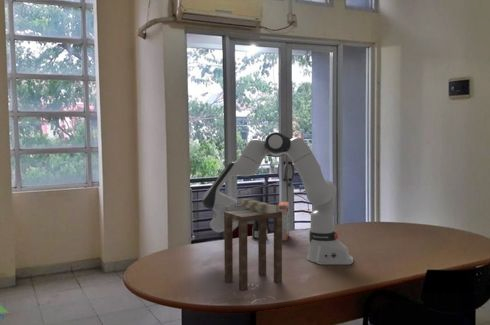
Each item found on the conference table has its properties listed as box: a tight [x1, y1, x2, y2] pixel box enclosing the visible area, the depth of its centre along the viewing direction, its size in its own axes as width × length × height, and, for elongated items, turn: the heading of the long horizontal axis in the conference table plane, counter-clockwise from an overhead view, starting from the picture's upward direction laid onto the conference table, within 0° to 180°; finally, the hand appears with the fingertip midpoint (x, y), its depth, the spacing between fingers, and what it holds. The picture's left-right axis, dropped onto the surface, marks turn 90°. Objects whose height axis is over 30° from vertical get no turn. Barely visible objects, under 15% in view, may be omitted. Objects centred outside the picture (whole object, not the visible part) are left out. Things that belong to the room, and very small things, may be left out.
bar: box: [240, 198, 277, 213], centre depth 198 cm, size 22×4×3 cm, turn 33°
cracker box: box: [277, 201, 291, 242], centre depth 271 cm, size 14×6×21 cm, turn 168°
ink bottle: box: [251, 220, 268, 240], centre depth 272 cm, size 10×9×12 cm
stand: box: [223, 208, 283, 292], centre depth 194 cm, size 14×20×30 cm
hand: (243, 204), depth 207 cm, fingers open, 8 cm apart
